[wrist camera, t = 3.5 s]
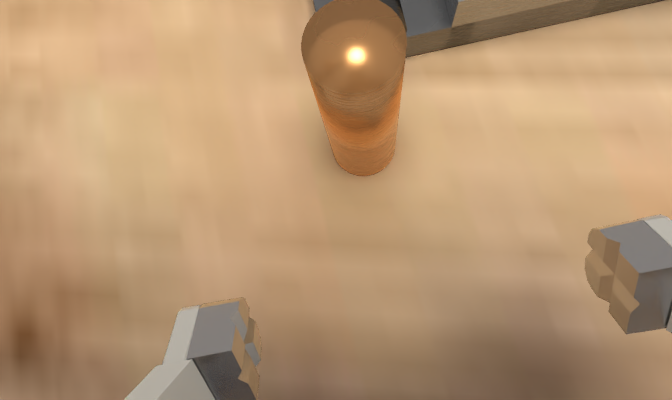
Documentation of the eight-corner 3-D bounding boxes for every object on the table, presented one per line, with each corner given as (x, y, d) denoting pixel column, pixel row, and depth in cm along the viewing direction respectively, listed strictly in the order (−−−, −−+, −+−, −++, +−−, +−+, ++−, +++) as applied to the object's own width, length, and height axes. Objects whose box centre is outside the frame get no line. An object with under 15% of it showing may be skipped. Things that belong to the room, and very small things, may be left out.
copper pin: (339, 181, 24) (311, 102, 14) (327, 123, 24) (293, 8, 14) (401, 168, 23) (417, 79, 14) (387, 110, 24) (393, -15, 14)
